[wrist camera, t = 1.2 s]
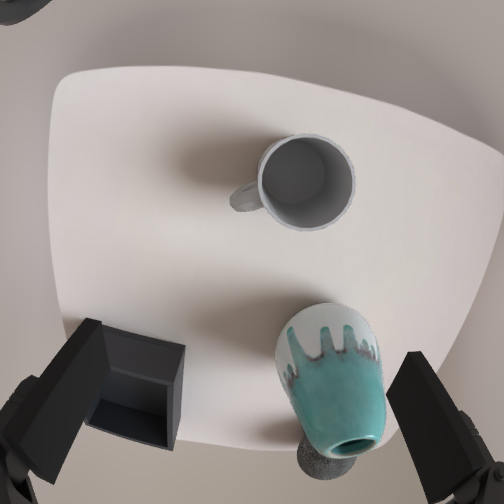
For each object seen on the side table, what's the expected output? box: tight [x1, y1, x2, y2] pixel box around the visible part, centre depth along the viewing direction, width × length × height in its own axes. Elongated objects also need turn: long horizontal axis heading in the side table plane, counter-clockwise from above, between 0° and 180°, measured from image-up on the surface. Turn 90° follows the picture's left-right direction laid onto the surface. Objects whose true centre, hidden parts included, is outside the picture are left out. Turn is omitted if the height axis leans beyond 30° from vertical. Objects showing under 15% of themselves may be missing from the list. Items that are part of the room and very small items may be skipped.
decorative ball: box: [297, 435, 357, 480], centre depth 38 cm, size 10×10×10 cm
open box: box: [84, 325, 185, 451], centre depth 36 cm, size 17×15×7 cm
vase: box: [275, 303, 386, 459], centre depth 27 cm, size 12×12×18 cm
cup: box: [230, 133, 356, 231], centre depth 25 cm, size 7×10×9 cm
